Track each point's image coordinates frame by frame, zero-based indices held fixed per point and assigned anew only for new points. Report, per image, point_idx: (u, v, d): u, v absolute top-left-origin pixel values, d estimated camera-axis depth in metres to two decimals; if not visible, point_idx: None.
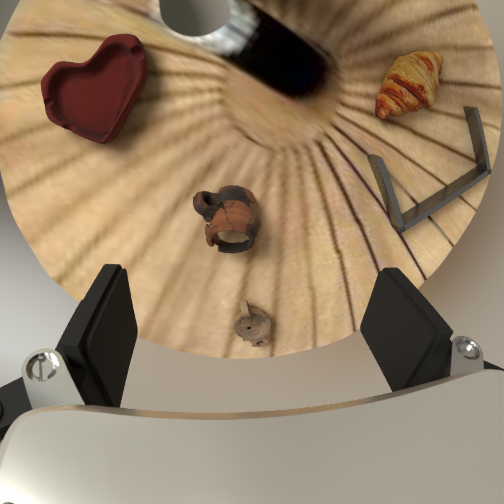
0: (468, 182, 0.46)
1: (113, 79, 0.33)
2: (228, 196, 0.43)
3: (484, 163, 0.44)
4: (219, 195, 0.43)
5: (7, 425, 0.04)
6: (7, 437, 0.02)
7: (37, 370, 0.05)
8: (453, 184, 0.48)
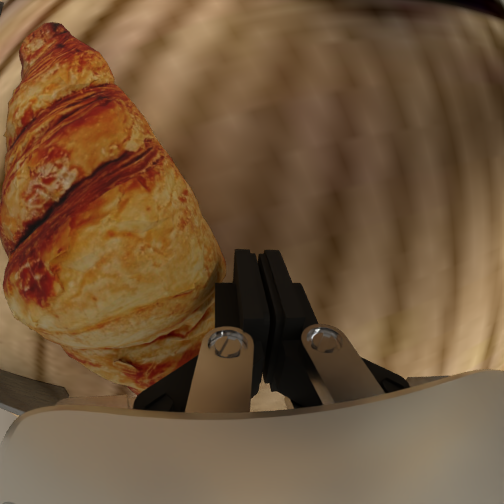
0: None
1: None
2: None
3: None
4: None
5: None
6: (7, 437, 0.02)
7: (223, 348, 0.06)
8: None
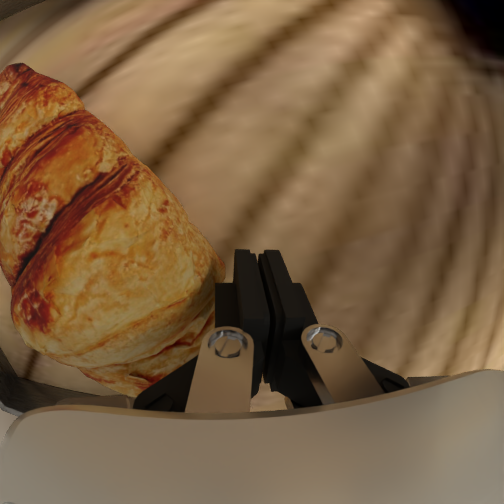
0: None
1: None
2: None
3: (18, 404, 0.15)
4: None
5: None
6: (7, 437, 0.02)
7: (223, 348, 0.06)
8: None
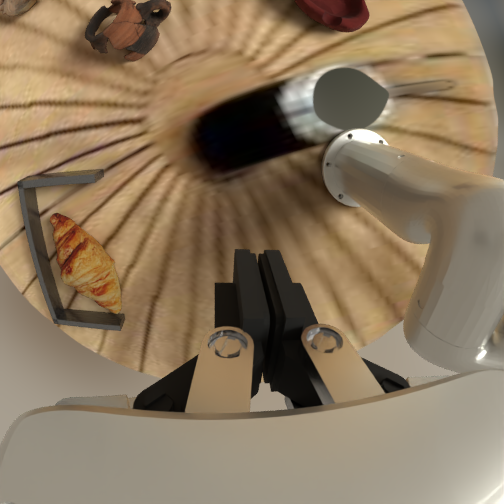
0: (47, 288, 0.43)
1: None
2: (147, 33, 0.27)
3: (64, 318, 0.46)
4: (153, 27, 0.27)
5: None
6: (7, 437, 0.02)
7: (223, 348, 0.06)
8: (48, 269, 0.43)
